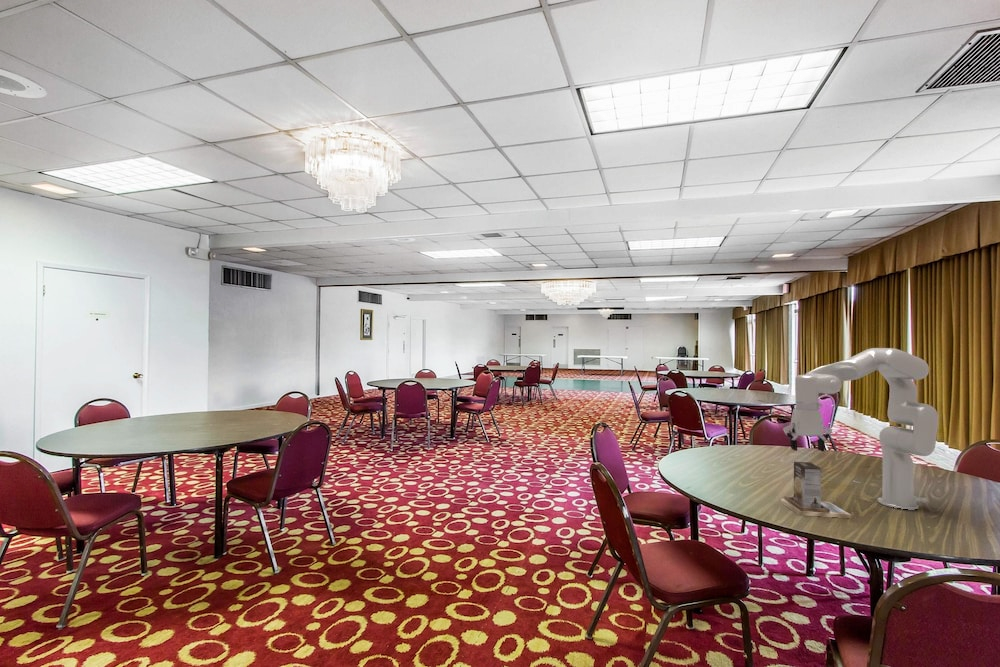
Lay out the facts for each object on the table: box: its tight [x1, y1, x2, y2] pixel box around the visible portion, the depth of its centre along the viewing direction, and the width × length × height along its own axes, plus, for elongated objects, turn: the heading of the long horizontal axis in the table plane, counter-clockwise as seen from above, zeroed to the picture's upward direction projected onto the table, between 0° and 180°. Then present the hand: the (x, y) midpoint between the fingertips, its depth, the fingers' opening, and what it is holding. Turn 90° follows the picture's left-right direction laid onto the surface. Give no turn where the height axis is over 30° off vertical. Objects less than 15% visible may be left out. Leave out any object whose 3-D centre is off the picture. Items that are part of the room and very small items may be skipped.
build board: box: [780, 496, 852, 519], centre depth 177 cm, size 18×14×3 cm
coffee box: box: [793, 461, 822, 508], centre depth 178 cm, size 9×6×16 cm
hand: (807, 450), depth 178 cm, fingers open, 9 cm apart
